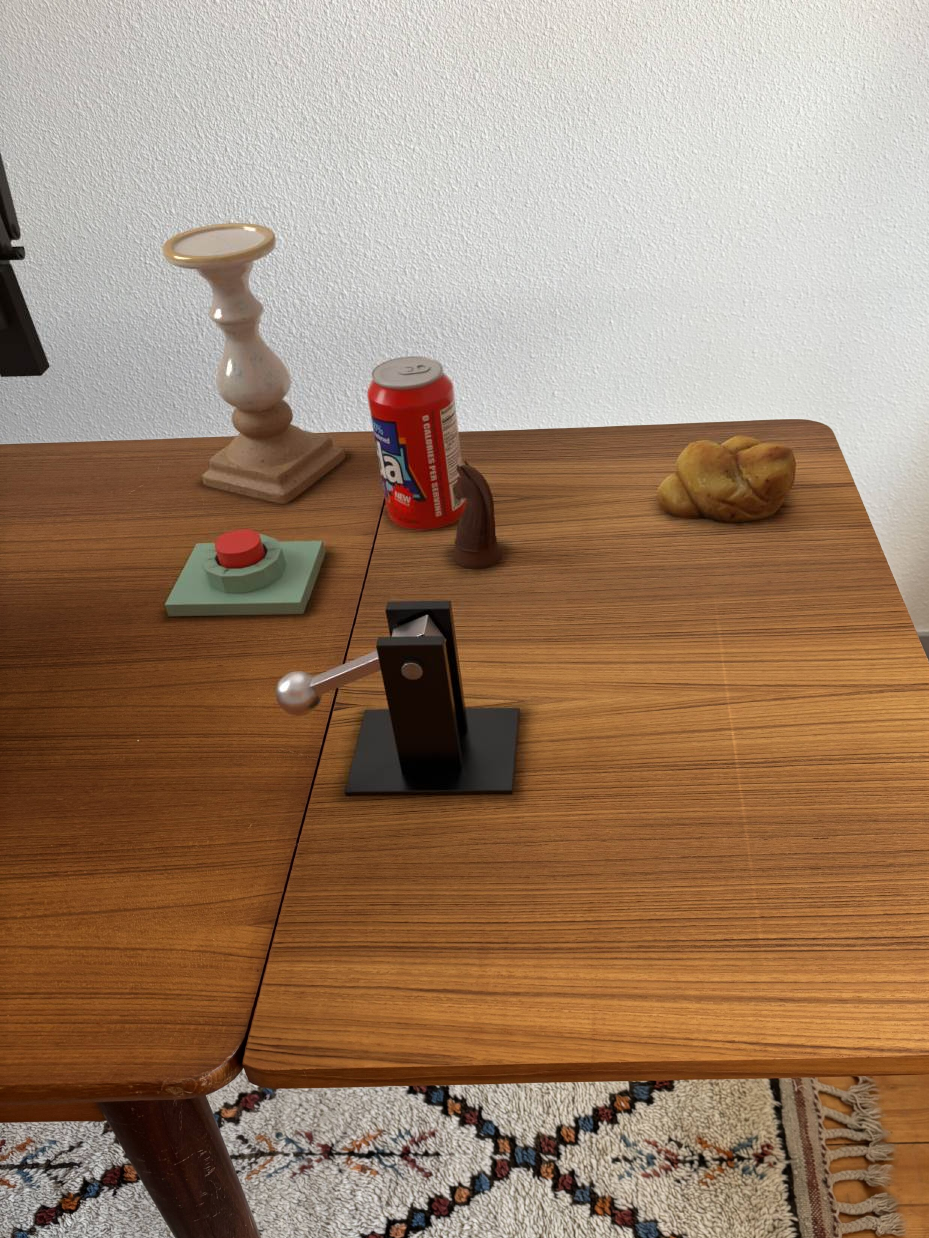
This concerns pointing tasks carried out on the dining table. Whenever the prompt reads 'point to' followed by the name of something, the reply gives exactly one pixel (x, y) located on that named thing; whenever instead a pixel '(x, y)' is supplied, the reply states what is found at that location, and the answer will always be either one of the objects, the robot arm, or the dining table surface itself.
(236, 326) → the candle holder
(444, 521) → the soda can
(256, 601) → the button block
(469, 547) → the chess piece
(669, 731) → the dining table surface
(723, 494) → the bread roll
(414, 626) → the silver lever handle
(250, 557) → the button
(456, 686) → the lever stand
